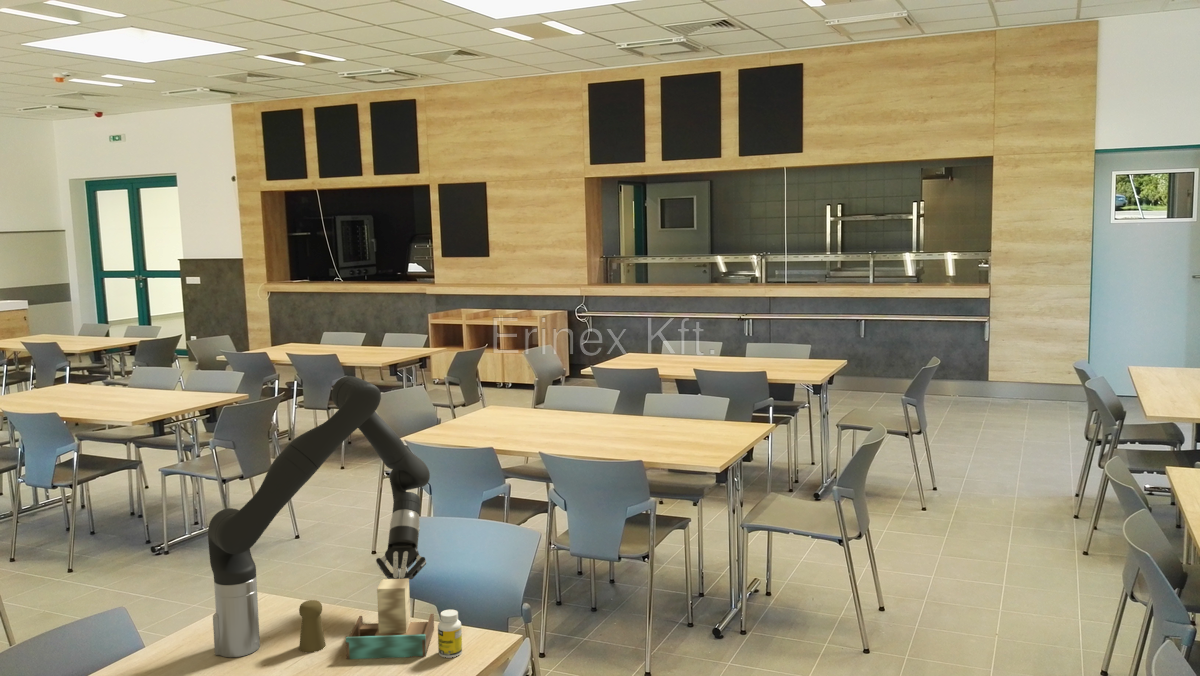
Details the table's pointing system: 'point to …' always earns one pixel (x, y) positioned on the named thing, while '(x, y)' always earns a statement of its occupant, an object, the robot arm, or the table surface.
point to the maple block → (393, 606)
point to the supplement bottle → (449, 634)
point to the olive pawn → (311, 627)
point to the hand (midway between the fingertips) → (398, 594)
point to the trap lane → (388, 641)
